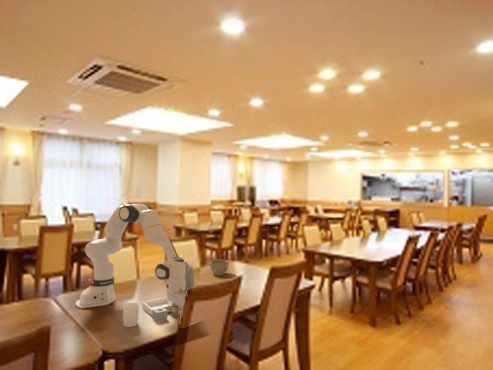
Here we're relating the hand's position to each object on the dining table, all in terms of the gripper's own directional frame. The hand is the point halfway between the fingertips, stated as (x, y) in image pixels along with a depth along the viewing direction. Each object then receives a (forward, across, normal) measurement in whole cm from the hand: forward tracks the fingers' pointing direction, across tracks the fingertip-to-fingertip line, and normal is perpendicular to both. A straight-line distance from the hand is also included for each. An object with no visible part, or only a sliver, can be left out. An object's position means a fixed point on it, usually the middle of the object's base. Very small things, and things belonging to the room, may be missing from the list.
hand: (176, 311), depth 179 cm
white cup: (+2, +2, +25) cm, 25 cm away
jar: (+2, +40, -23) cm, 46 cm away
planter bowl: (+2, +60, -67) cm, 90 cm away
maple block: (+2, 0, 0) cm, 2 cm away
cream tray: (+2, +14, +4) cm, 14 cm away
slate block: (+2, 0, +10) cm, 10 cm away
